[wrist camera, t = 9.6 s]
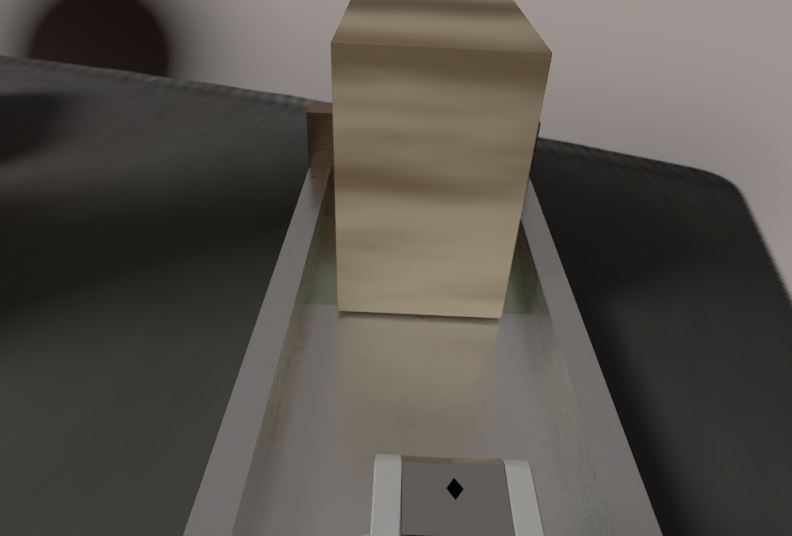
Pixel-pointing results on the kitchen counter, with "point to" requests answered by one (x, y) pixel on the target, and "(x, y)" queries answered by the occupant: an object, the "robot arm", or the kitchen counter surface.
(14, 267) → the kitchen counter surface
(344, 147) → the block
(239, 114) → the kitchen counter surface
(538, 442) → the bay
